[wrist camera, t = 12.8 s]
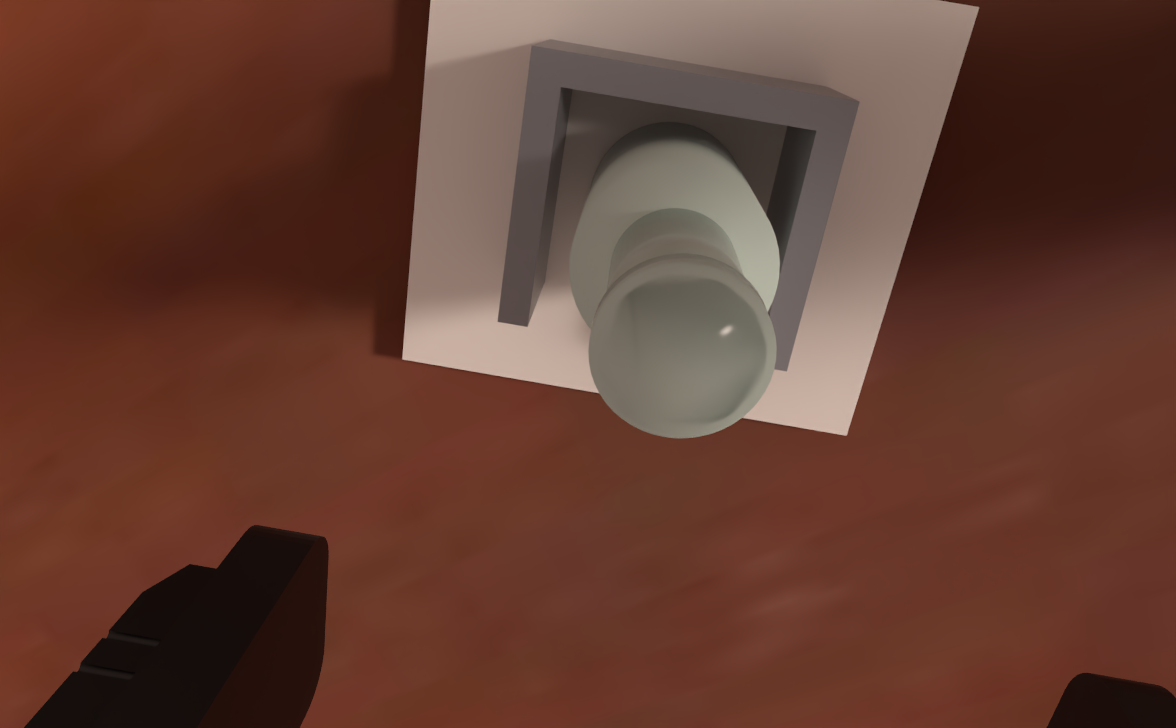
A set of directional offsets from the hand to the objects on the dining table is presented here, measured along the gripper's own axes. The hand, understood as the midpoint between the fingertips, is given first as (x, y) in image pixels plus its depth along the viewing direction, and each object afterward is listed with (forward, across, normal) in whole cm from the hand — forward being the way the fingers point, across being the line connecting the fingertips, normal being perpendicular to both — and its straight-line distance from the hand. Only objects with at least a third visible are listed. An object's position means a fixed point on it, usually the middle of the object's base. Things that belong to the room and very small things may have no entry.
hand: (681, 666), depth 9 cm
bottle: (+24, 0, 0) cm, 24 cm away
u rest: (+25, 0, 0) cm, 25 cm away
